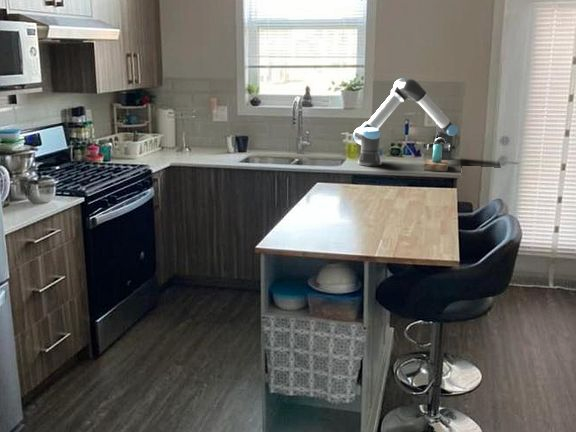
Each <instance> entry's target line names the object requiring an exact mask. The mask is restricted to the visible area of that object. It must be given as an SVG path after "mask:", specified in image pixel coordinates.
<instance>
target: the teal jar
mask: <svg viewBox="0 0 576 432" xmlns="http://www.w3.org/2000/svg"><path fill="white" fill-rule="evenodd" d="M442 153H443V149H442V145H441V144H434V145H433V147H432V158H431V160H432V162H434V163H441V160H442V156H443V155H442Z"/></svg>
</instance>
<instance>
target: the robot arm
mask: <svg viewBox="0 0 576 432" xmlns="http://www.w3.org/2000/svg"><path fill="white" fill-rule="evenodd" d="M408 98H409V99H410V100H413V102H414V103H416V104H418V105H419V106H420V107H421V108H422V109H423V110H424V111H425V113H426V114H427V115H428V116H429V117H430V118H431V119H432V121H434V122H435V136H434V137H435V138H434V142H430V141H429V142H426V143H425V142H424V143H423V144H422V149H424V148H425V150H427V151H428V150H429V149H431V148H432V149H433V145H434V144H441V145H442V150H443V149H448V151H451V150H455V144H452V143H449V142H448V143H447V141H445V139H444V138H442V137H438V138H436V137H437V135H438V136H439V135H441V134H442V133H443V134H446V135H447V136H451V137H453V136H456V135H457V134H458V132H459V128H458V126H457V125H456V124H454V123H453V122H452V121H451V120H450V118H448V117H447V115H445V113H444V112H443V111H441V109H440V108H439V107H438V106H437V104H436V103H434V102H433V100H432V99H431V97H429V95H427V91H426V90H425V89H424V88H423V87H422V85H420V84H419V82H418V81H417V80H415V79H412V78H406V77H402V78H399V79H397V80H396V81H394V84H393V86H392V89H391V90H390V95H388V97H387V98H386V99H385V101H384V102H383V103H382V104H381V105H380V106H379V108H378V109H377V110H376V111H375V113H374V114H373V115H372V116H371V117H370V119H369V120H368V121H365V122H363V123H362V125H361V126H359V127H357V128H356V129H355V130H354V132H353V139H354V142H355V143H356V144H358V145H360V147H361V148H360V154H359V157H358V160H357V165H360V166H365V167H378V166H381V165H382V159H381V155H380V140H381V132H380V131H381V130H379V129H380V128H381V126H383V124H384V123H385V121H387V119H388V118H389V117H390V116H391V115H392V113H393V112H394V111H395V110H396V109H397V107H398V106H399V105H400V104H401V103H405V102H406V100H407V99H408Z"/></svg>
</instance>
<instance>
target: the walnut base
mask: <svg viewBox="0 0 576 432" xmlns="http://www.w3.org/2000/svg"><path fill="white" fill-rule="evenodd" d="M423 165H424V166H423V167H424V169H423V170H424V171H433V172H448V168H449V160H446V159H441V163H434V162H432V158H431V159H429V158H426V159H425V161H424V164H423Z"/></svg>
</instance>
